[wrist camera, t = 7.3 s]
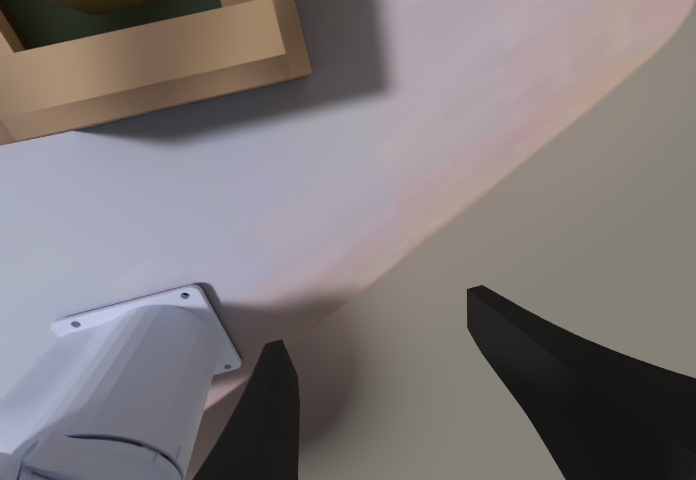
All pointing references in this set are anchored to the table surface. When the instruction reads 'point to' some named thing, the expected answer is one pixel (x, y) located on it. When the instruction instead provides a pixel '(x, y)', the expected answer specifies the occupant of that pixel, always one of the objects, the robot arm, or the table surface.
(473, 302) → the robot arm
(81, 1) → the yellow dimpled cube
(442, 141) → the table surface
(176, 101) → the piece box
